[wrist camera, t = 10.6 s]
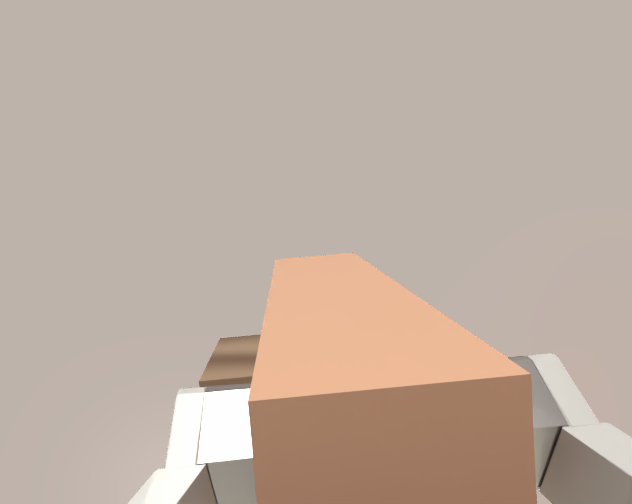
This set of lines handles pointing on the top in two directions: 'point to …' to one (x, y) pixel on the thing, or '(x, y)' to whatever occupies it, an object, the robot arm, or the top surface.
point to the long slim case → (381, 397)
